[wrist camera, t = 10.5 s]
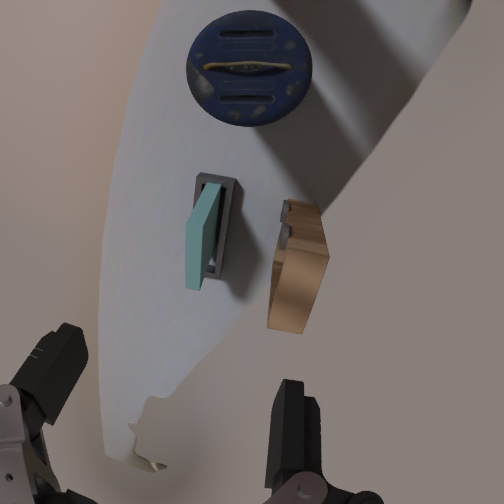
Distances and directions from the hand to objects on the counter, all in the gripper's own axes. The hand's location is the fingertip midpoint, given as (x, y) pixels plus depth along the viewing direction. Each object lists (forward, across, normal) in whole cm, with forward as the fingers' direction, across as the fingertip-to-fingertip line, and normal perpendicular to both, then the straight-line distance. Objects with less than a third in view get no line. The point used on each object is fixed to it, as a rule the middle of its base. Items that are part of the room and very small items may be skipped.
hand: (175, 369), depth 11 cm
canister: (+33, +1, -11) cm, 35 cm away
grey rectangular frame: (+33, +4, +10) cm, 34 cm away
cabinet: (+33, -7, +9) cm, 35 cm away
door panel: (+32, +4, +8) cm, 33 cm away
